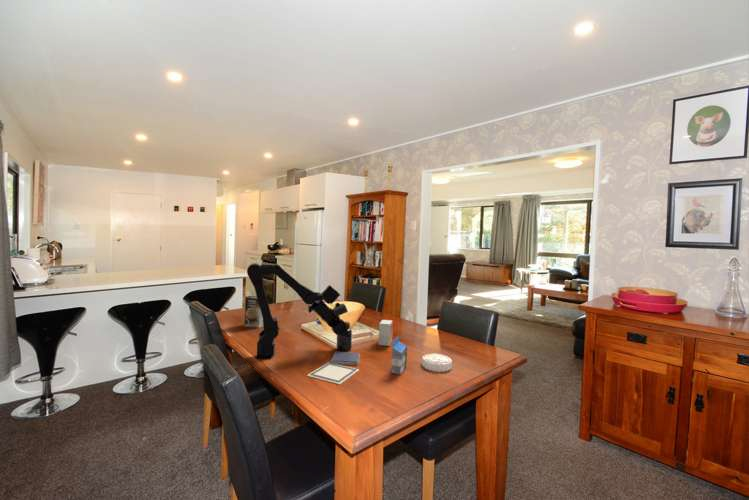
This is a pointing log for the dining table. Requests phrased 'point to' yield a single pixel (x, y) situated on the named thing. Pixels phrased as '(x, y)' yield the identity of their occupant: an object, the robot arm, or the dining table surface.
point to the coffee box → (253, 312)
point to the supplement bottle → (345, 340)
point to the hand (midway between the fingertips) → (347, 334)
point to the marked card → (333, 373)
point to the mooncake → (436, 362)
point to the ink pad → (345, 358)
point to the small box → (385, 332)
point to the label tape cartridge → (398, 356)
